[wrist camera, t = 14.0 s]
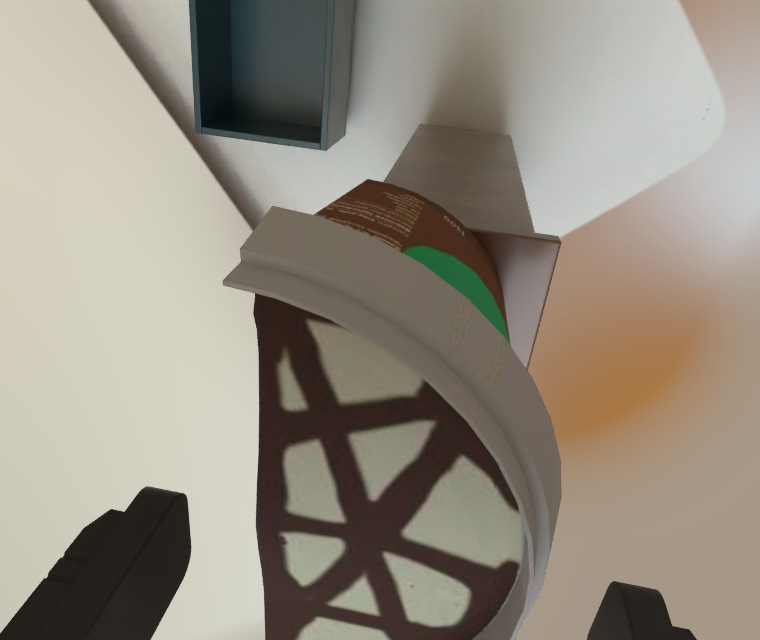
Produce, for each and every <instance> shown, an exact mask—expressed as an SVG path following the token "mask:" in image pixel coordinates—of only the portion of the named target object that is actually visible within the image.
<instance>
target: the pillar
mask: <svg viewBox="0 0 760 640" xmlns="http://www.w3.org/2000/svg"><path fill="white" fill-rule="evenodd" d="M384 183H389V184H394V185H397V186H399V187H402V188H405V189H407V190H410V191H413V192H415V193H418V194H420V195H422V196H423V197H425V198H427V199H429V200H431V201H432V202H434V203H436V204H438V205H440V206H441V207H442V208H444V209H445V210H446V211H448V212H449V213H450V214H451V215H453V216H454V217H455V218H457V219H458V220H459V221H460V222H464V223H471V224H477V225H484V226H491V227H498V228H505V229H512V230H519V231H525V232H532V233H535V231H534V227H533V223H532V219H531V215H530V211H529V207H528V203H527V199H526V195H525V191H524V187H523V183H522V179H521V175H520V171H519V167H518V163H517V159H516V155H515V151H514V147H513V143H512V139H511V136H510V135H502V134H495V133H487V132H479V131H472V130H464V129H456V128H449V127H441V126H433V125H426V124H420V125H419V127H418V128H417V130H416V131H415V133H414V134H413V136H412V138H411V139H410V141H409V142H408V144H407V145H406V147H405V149H404V150H403V152H402V153H401V155H400V156H399V158H398V160H397V161H396V163H395V164H394V166H393V167H392V169H391V171H390V172H389V174H388V175H387V177H386V178H385V180H384Z"/></svg>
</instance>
